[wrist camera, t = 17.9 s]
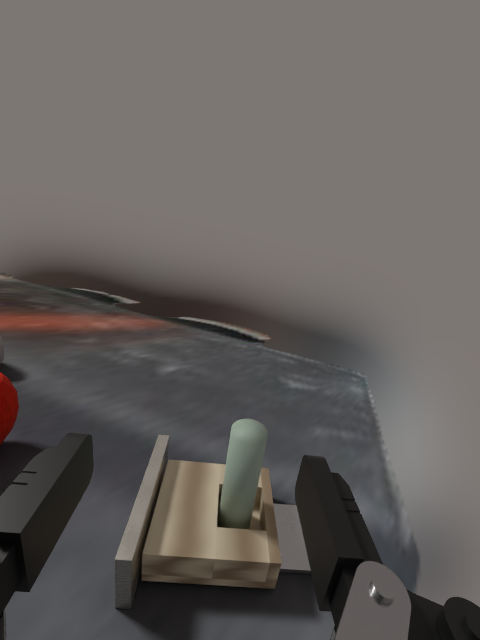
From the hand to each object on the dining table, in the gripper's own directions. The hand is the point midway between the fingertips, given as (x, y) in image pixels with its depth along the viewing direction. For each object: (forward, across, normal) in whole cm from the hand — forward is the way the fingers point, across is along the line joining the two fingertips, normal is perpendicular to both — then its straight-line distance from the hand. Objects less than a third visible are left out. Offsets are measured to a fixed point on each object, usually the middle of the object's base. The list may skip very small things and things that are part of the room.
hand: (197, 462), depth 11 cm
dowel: (+17, -5, +26) cm, 32 cm away
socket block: (+17, -2, +28) cm, 33 cm away
